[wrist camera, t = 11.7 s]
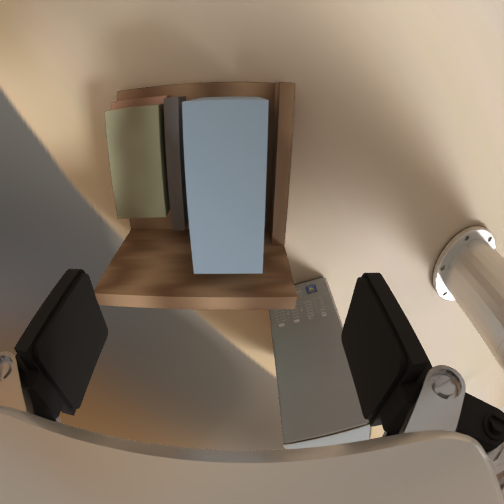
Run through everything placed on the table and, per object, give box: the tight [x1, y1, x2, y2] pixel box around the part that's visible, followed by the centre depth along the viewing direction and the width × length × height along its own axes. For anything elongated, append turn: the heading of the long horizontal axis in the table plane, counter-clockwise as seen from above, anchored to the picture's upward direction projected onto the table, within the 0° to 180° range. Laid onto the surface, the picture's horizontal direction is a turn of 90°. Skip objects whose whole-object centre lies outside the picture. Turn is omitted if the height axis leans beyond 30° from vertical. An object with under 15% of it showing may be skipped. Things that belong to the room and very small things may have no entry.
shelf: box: [94, 82, 297, 310], centre depth 23 cm, size 16×16×12 cm
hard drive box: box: [269, 277, 372, 449], centre depth 32 cm, size 16×8×20 cm, turn 16°
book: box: [182, 96, 269, 274], centre depth 23 cm, size 5×12×10 cm, turn 179°
